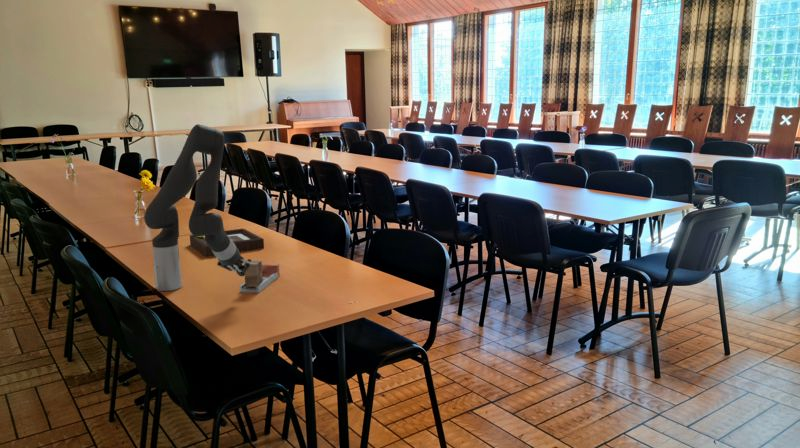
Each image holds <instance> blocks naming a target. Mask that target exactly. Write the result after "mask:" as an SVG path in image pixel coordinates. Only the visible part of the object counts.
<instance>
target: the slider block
mask: <svg viewBox="0 0 800 448" xmlns="http://www.w3.org/2000/svg"><path fill="white" fill-rule="evenodd" d="M250 260H251V263H250V267H249V268H248V269H247V270H246V273H245V275H244V283H245V286H246V287H256V286H258V285H259V284H260V283H262V282H263V277H262V264H263V261H262V260H253V259H250Z"/></svg>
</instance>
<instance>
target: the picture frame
mask: <svg viewBox="0 0 800 448" xmlns="http://www.w3.org/2000/svg"><path fill="white" fill-rule="evenodd" d="M225 233H226V234H227V236H228V237H229V238H230V239H231V240H232V241H233V243H234V244H235V246H236V247H237V248H238V250H239V252H240V253H243V252H248V251H250V252H251V251H255V250H263V249H265V242H264V241H265V240H264V238H263V237H261V236H259V235H257V234H256V233H253V232H251V231H250V230H247V229H246V228H237V229H228V230H225ZM189 245H190V246H191V247H192V248H193V249H195V250H196V251H197V250H198V252H199V253H200V254H201V253H202V254H201V255H202V256H204V257H205V258H209V257H210V258H211V257H216V256H215V255H214V254H213V252H212V250H211V248H210V247H209V246H208V245H207V243H206V241H205V236H194V235H192V234H191V235H189Z"/></svg>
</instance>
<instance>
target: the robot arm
mask: <svg viewBox="0 0 800 448" xmlns="http://www.w3.org/2000/svg"><path fill="white" fill-rule="evenodd" d="M224 148H225V135H224V132H223V131H222V130H220V129H218V128H215V127H211V126H208V125H204V124H198V123H197V124H195V125H194V126H193V127H192V128H191V130H190V132H189V133H188V136H187V138H186V139H185V143H184V145H183V147H182V150H181V152H180V154H179V155H178V156H177V160H176V161H175V163H174V164H173V166H172V168H171V169H170V171H169V173H168V174H167V176H166V179H165V181H164V183H163V184H162V185H161V187H160V189H159V191H158V193H157V194H156V195H155V197H154V198H153V200H152V201H151V202H150V203H149V205H148V206H147V207H146V209H145V211H144V218H143V219H144V220H143V221H144V223H145V225H146V226H147V227H148V228H149V229H152V230H160V229H161V231H160V232H159V233H158V234H157V235H156V236H154V237H153V238H152V241H151V243H152V254H153V263H154V264H153V271H154V272H153V273H154V280H155V281H154V282H155V288H156V290H157V292H169V291H175V290H178V289H181V288H182V287H183V281H182V274H181V273H182V271H181V261H180V260H181V259H180V249H179V248H180V247H179V237H180V225H179V223H180V222H179V220H180V219H179V213H178V212H179V211H178V209H177V208H176V206H175V204H176V203H178V202H179V201H180V200H182V199H183V198H185V196H187V195H188V194H189V193H190V191H192V188H193V187H194V185H195V202H194V205H193V208H192V210H191V213H190V216H189V218H188V219H189V220H188V231H189V232H190V234H191V235H194V236H205V241H206V243H207V245H208V246H209V247H210V248H211V250H212V252H213V254H214V255H215V256H214V257H215V258H216V259H217V264H216V265H217V266H218V267H221V268H223V269H225V270H227V271H230V272H235V273H236V274H237V275H238V276H239V277H245V273H246V270H247V269H248V268H249V267H250V263H251V260H252V259H250V258H248V259H245V258H244V257H243V256H242V255H241V252H239V250H238V248H237V247H236V246H235V244H234V243H233V241H232V240H231V239H230V238H229V237H228V236H227V234H226V233H225V231H226V230H225V227H224V221H223V217H222V215H220V214H219V213H217V212H209V211H212V210H214V209H216V208H217V207H218V201H219V198H218V197H219V192H218V191H219V178H220V171H221V165H222V162H223V155H224ZM197 152H199V153H201V154H206V155H210V162H209V164H208V166H207V167H206V168H205V169H204V171H203V172H202V173H201V174H200V176H199V177H198V176H197V169H196V164H195V163H194V155H195V153H197ZM197 178H198V179H197Z"/></svg>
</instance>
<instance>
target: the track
mask: <svg viewBox="0 0 800 448" xmlns="http://www.w3.org/2000/svg"><path fill="white" fill-rule="evenodd" d="M280 275H281V274H280V264H279V263H277V264H275V263H262V277H263V282H262V283H260V284H259V285H258V286H256V287H246V286H245V282H243V283H242V284H240V285H239V293H252V294H253V293H254V294H259V293H261V292H262V291H263V290H264V289H266V288H267V287H269V286H270V285H271V284H272V283H273V282H274V281H275V280H277V279H278V278H279V277H280Z"/></svg>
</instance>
